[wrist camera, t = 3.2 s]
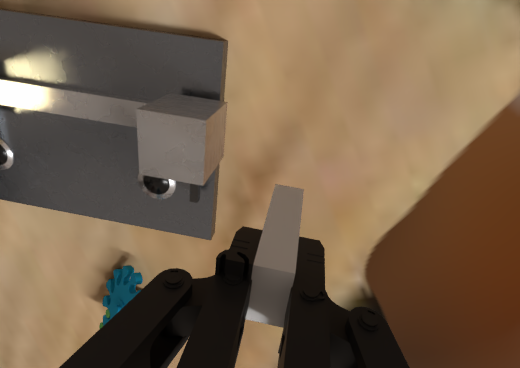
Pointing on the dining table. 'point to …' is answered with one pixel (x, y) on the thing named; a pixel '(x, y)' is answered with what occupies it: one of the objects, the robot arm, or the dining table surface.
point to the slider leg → (181, 139)
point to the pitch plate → (98, 118)
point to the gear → (120, 291)
